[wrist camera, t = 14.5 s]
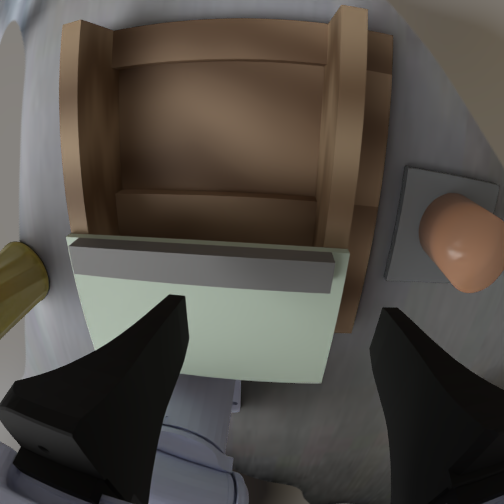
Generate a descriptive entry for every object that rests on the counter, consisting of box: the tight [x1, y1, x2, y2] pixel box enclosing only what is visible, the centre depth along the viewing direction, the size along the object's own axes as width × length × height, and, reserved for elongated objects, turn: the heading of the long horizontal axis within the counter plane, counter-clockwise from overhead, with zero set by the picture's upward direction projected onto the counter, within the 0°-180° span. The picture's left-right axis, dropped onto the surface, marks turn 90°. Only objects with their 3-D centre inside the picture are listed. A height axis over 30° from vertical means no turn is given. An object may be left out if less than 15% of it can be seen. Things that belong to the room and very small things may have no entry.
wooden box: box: [59, 5, 393, 333], centre depth 18 cm, size 20×20×5 cm
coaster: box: [384, 166, 500, 283], centre depth 20 cm, size 8×8×1 cm
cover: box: [66, 233, 350, 383], centre depth 17 cm, size 9×15×2 cm, turn 88°
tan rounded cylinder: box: [419, 193, 504, 293], centre depth 17 cm, size 5×5×4 cm
